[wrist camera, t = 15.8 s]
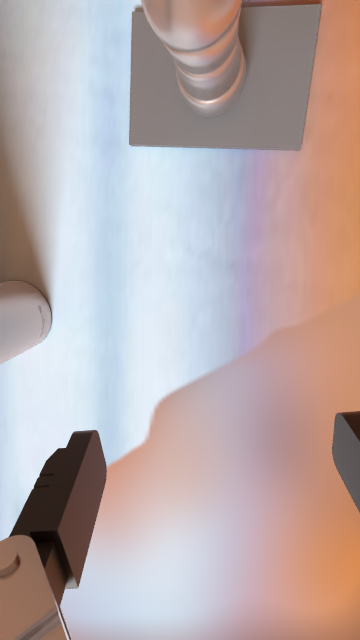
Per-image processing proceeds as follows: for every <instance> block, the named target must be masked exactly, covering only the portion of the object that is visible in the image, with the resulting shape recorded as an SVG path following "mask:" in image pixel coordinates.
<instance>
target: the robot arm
mask: <svg viewBox="0 0 360 640" xmlns="http://www.w3.org/2000/svg"><path fill="white" fill-rule="evenodd" d="M51 319H52V318H51V311H50V308H49V305H48V303H47V301H46V299H45V297H44V296H43V295H42V294H41V293H40V291H38V290H37V289H36V288H35V287H34V286H32V285H30V284H28V283H26V282H22V281H15V280H14V281H7V282H2V283H0V364H2V363H4V362H6V361H8V360H9V359H11V358H13V357H15V356H17V355H19V354H21V353H23V352H24V351H26V350H28V349H30V348H32V347H34V346H36V345H37V344H39V343H40V342H42V341H43V340H44V339H45V338H46V337H47V335H48V333H49V331H50V327H51ZM332 453H333V459H334V463H335V466H336V468H337V470H338V472H339V474H340V476H341V478H342V480H343V482H344V484H345V486H346V487H347V489H348V491H349V493H350V495H351V497H352V499H353V501H354V503H355V505H356V506H357V508H358V510H359V512H360V411H357V412H343V413H337V414H336V416H335V425H334V435H333V446H332ZM106 472H107V471H106V462H105V458H104V454H103V450H102V446H101V442H100V437H99V434H98V432H97V430H88V431H75V432H73V434H72V435H71V438H70V440H69V442H68V445H67V447H66V448H58V449H57V450H56V451H55V452H54V453H53V454H52V455H51V456H50V458H49V459H48V460H47V461H46V462H45V465H44V467H43V469H42V471H41V473H40V477H39V478H38V479H37V481H36V483H35V485H34V489H32V491H31V493H30V495H29V497H28V499H27V501H26V503H25V505H24V507H23V509H22V511H21V514H20V516H19V518H18V520H17V522H16V524H15V526H14V528H13V530H12V532H11V534H10V536H9V537H8V538H6V539H4V540H2V541H1V542H0V640H72V638H71V636H70V633H69V630H68V627H67V624H66V621H65V619H64V616H63V613H62V610H61V607H60V603H61V600H62V597H63V593H64V590H65V589H74V588H78V586H79V583H80V579H81V575H82V571H83V568H84V563H85V559H86V556H87V552H88V548H89V544H90V540H91V537H92V533H93V529H94V525H95V521H96V517H97V514H98V510H99V506H100V502H101V498H102V494H103V490H104V487H105V483H106Z"/></svg>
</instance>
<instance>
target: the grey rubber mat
mask: <svg viewBox="0 0 360 640" xmlns="http://www.w3.org/2000/svg"><path fill="white" fill-rule="evenodd" d="M321 6H322V4H308V5H284V6H259V7H241V11H240V16H239V27H238V37H239V42H240V44H241V46H242V49H243V52H244V56H245V61H246V77H245V83H244V85H243V88H242V91H241V94H240V96H239V98H238V99H237V101H236V102H235V104H234V105H233V106H232V107H231V108H230V109H229V110H228V111H227V112H225V113H223V114H221V115H219V116H215V117H204V116H201V115H199V114H197V113H195V112H194V111H193V110H191V109H190V108H189V107H188V106H187V105H186V104H185V102H184V101H183V99H182V97H181V95H180V92H179V89H178V84H177V78H176V67H175V62H174V60H173V58H172V56H171V54H170V52H169V51H168V49H167V48H166V47H165V45H164V44H163V43H162V41H161V40H160V39H159V38H158V37H157V35H156V33H155V32H154V30H153V29H152V27H151V25H150V23H149V22H148V20H147V18H146V15H145V13H144V11H137V12H132V39H131V85H130V130H129V145H131V146H148V147H185V148H222V149H259V150H296V151H300V149H301V144H302V137H303V130H304V123H305V117H306V110H307V103H308V96H309V89H310V82H311V75H312V68H313V61H314V54H315V47H316V40H317V34H318V27H319V20H320V13H321Z"/></svg>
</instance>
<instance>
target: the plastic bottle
mask: <svg viewBox="0 0 360 640" xmlns="http://www.w3.org/2000/svg"><path fill="white" fill-rule="evenodd" d="M242 1H243V0H141V2H142V6H143V10H144V13H145V15H146V18H147V20H148V22H149V23H150V25H151V27H152V29H153V30H154V32H155V33H156V35H157V37H158V38H159V39H160V40H161V41H162V43H163V44H164V45H165V47H166V48H167V49H168V51H169V52H170V54H171V56H172V58H173V60H174V62H175V67H176V78H177V84H178V89H179V92H180V95H181V97H182V99H183V101H184V102H185V104H186V105H187V106H188V107H189V108H190V109H191V110H193V111H194V112H195V113H197V114H199V115H201V116H204V117H215V116H219V115H221V114H223V113H225V112H227V111H228V110H229V109H230V108H231V107H232V106H233V105H234V104H235V102H236V101H237V99H238V98H239V96H240V94H241V91H242V88H243V85H244V83H245V77H246V61H245V56H244V52H243V49H242V46H241V44H240V42H239V37H238V27H239V16H240V11H241V6H242Z"/></svg>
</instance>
